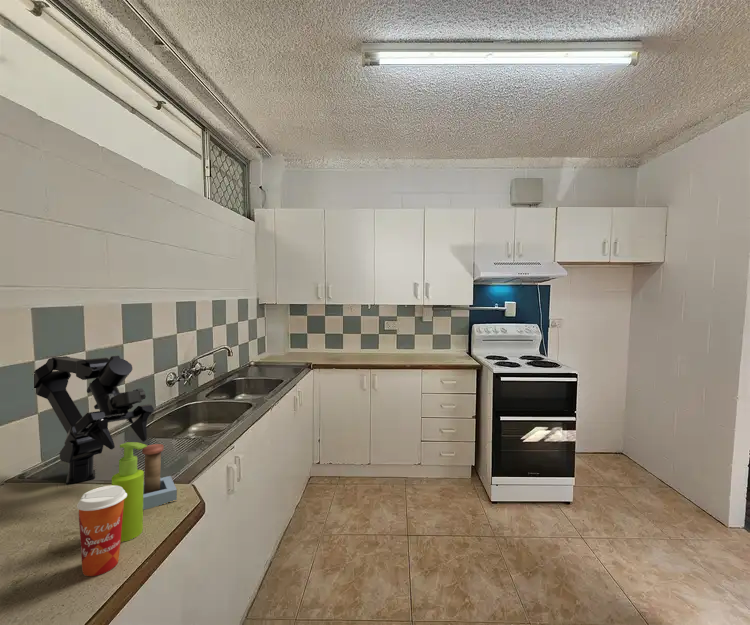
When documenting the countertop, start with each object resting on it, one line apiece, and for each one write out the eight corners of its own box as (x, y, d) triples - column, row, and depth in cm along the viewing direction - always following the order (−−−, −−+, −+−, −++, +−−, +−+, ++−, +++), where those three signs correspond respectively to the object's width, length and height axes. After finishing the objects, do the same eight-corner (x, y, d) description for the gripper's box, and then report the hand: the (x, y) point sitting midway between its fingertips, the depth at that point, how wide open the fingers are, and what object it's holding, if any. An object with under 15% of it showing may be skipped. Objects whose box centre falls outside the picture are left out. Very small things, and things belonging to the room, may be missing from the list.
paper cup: (70, 585, 66) (71, 507, 66) (80, 560, 72) (82, 488, 73) (123, 572, 69) (124, 497, 69) (128, 549, 76) (129, 481, 76)
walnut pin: (136, 501, 95) (137, 448, 95) (154, 493, 100) (155, 443, 100) (149, 505, 93) (150, 451, 94) (166, 496, 98) (167, 445, 98)
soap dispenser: (130, 544, 77) (132, 449, 78) (103, 540, 79) (105, 446, 79) (152, 529, 83) (154, 440, 83) (127, 525, 85) (128, 437, 85)
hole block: (127, 496, 97) (127, 485, 98) (170, 486, 104) (170, 475, 104) (130, 513, 90) (130, 500, 90) (176, 501, 96) (176, 489, 96)
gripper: (91, 380, 93) (115, 433, 89) (155, 377, 111) (177, 421, 106) (64, 407, 95) (86, 460, 90) (131, 399, 112) (152, 443, 108)
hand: (129, 444), depth 99 cm, fingers open, 9 cm apart
